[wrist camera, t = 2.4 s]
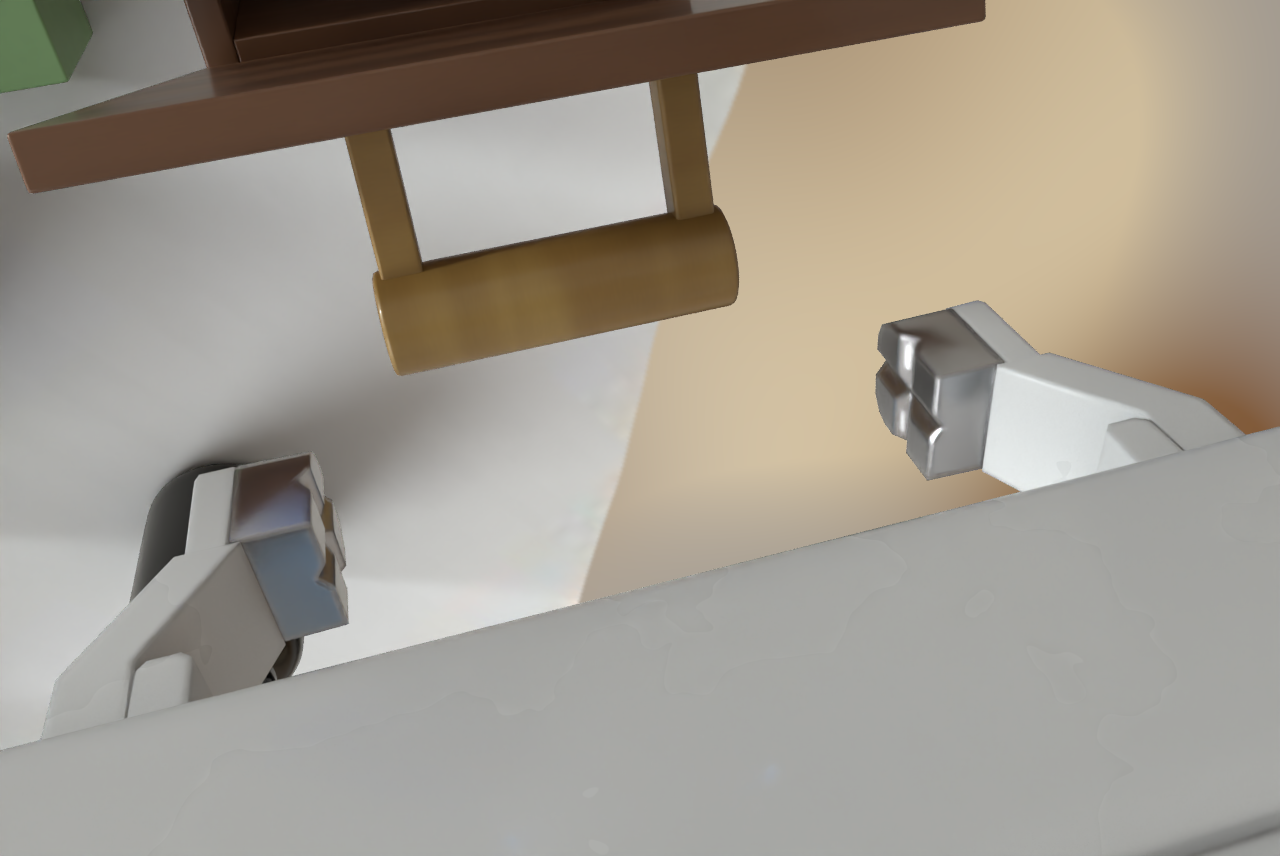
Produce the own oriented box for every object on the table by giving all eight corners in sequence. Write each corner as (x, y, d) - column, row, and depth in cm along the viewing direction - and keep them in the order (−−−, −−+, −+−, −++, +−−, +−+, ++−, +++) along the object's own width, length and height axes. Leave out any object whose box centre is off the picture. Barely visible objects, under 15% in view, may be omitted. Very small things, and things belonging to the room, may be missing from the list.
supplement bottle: (299, 452, 48) (299, 650, 38) (310, 564, 52) (312, 768, 42) (133, 462, 46) (90, 673, 37) (158, 577, 50) (124, 794, 40)
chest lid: (4, 133, 14) (135, 478, 16) (985, -37, 16) (992, 288, 18) (204, 68, 29) (257, 247, 31) (691, -14, 31) (712, 159, 33)
